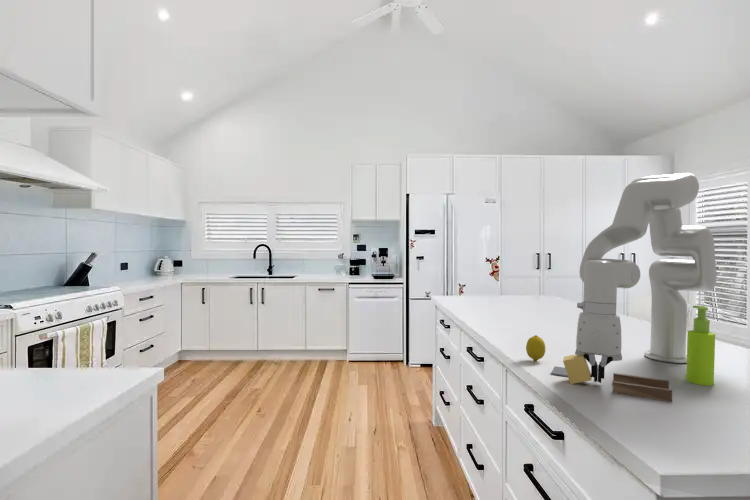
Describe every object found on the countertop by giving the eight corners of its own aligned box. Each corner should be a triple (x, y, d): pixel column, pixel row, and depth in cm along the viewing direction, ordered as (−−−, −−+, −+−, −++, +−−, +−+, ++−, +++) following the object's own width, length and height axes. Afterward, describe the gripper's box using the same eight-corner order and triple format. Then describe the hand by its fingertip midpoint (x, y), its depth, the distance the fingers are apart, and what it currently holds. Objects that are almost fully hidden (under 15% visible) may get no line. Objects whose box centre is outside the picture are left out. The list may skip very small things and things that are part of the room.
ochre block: (571, 378, 119) (564, 356, 120) (591, 375, 117) (583, 352, 118) (570, 384, 115) (563, 360, 115) (591, 380, 112) (583, 356, 113)
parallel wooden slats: (613, 382, 117) (613, 372, 117) (668, 390, 111) (668, 380, 111) (612, 392, 108) (613, 382, 108) (672, 401, 103) (672, 390, 103)
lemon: (546, 364, 133) (547, 337, 133) (527, 363, 134) (527, 336, 134) (543, 359, 139) (544, 333, 139) (524, 358, 140) (525, 332, 140)
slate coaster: (554, 367, 130) (554, 366, 130) (585, 371, 126) (585, 370, 126) (551, 374, 123) (551, 373, 123) (583, 379, 119) (583, 377, 119)
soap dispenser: (707, 379, 121) (709, 305, 121) (717, 386, 115) (719, 308, 114) (681, 376, 123) (684, 303, 123) (690, 384, 116) (692, 307, 116)
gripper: (566, 308, 114) (564, 379, 114) (633, 313, 107) (631, 390, 107) (568, 304, 121) (567, 372, 121) (632, 309, 114) (631, 381, 114)
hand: (597, 380), depth 114 cm, fingers closed
